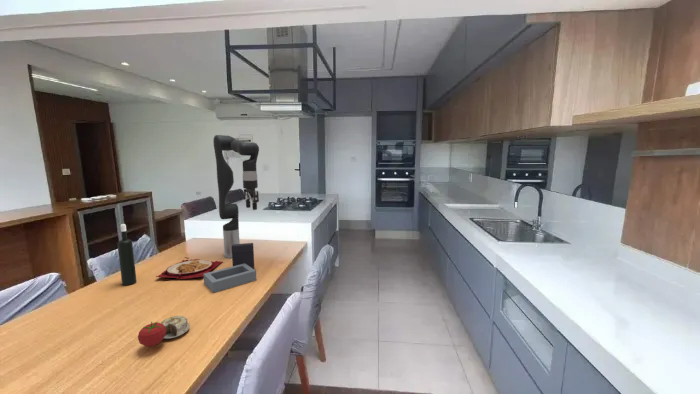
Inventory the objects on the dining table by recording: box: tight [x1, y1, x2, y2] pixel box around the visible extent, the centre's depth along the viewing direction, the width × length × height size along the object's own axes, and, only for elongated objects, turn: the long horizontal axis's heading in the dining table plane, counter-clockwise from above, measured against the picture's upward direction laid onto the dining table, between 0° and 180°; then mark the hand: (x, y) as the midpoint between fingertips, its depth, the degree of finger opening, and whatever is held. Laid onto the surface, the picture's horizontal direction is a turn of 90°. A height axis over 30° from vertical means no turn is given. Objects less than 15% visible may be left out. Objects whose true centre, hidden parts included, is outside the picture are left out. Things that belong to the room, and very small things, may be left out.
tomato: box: [137, 321, 166, 348], centre depth 97 cm, size 8×8×8 cm
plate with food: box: [155, 256, 224, 280], centre depth 160 cm, size 24×26×3 cm
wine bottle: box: [117, 223, 137, 286], centre depth 143 cm, size 6×6×30 cm
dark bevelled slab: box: [231, 242, 255, 270], centre depth 159 cm, size 11×4×15 cm, turn 105°
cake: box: [160, 315, 191, 339], centre depth 105 cm, size 10×10×5 cm
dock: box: [203, 263, 257, 294], centre depth 145 cm, size 14×21×5 cm, turn 132°
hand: (251, 208), depth 160 cm, fingers open, 8 cm apart
